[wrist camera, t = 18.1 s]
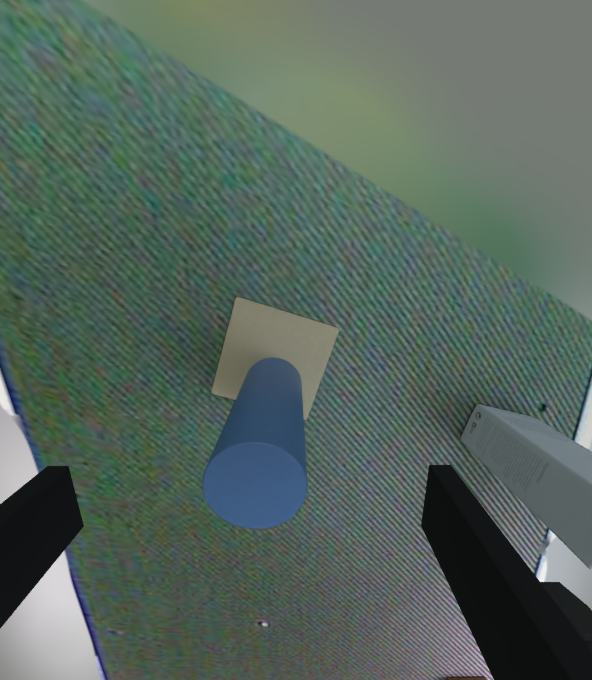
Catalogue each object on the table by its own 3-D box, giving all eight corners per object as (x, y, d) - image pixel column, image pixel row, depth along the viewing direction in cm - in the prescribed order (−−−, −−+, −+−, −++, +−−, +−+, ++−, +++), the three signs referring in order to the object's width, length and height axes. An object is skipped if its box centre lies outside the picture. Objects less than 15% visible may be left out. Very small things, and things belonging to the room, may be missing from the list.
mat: (339, 328, 24) (340, 329, 24) (306, 418, 26) (306, 420, 26) (236, 296, 23) (236, 296, 23) (212, 391, 26) (210, 393, 25)
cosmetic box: (457, 440, 27) (582, 576, 15) (476, 399, 26) (627, 511, 14) (516, 453, 27) (682, 595, 16) (537, 413, 26) (733, 534, 15)
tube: (179, 481, 13) (249, 545, 14) (261, 422, 12) (328, 495, 13) (233, 379, 25) (269, 419, 26) (277, 345, 24) (313, 388, 25)
